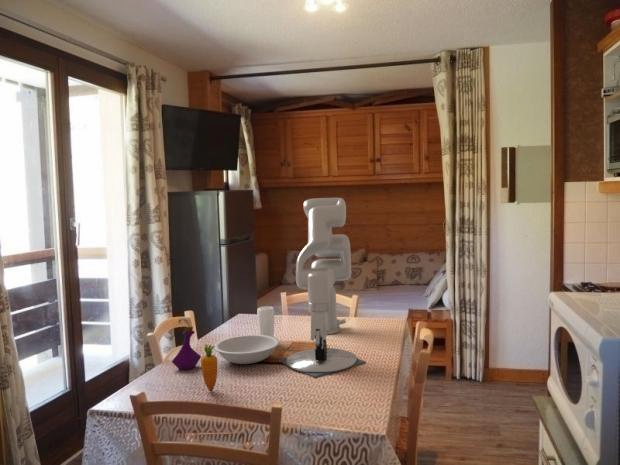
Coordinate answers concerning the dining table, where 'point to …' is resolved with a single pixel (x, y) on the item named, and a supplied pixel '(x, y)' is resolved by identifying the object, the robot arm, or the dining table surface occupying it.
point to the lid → (332, 362)
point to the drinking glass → (266, 320)
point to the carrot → (209, 367)
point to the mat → (323, 373)
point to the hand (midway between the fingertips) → (321, 356)
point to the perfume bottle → (186, 351)
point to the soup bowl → (246, 348)
